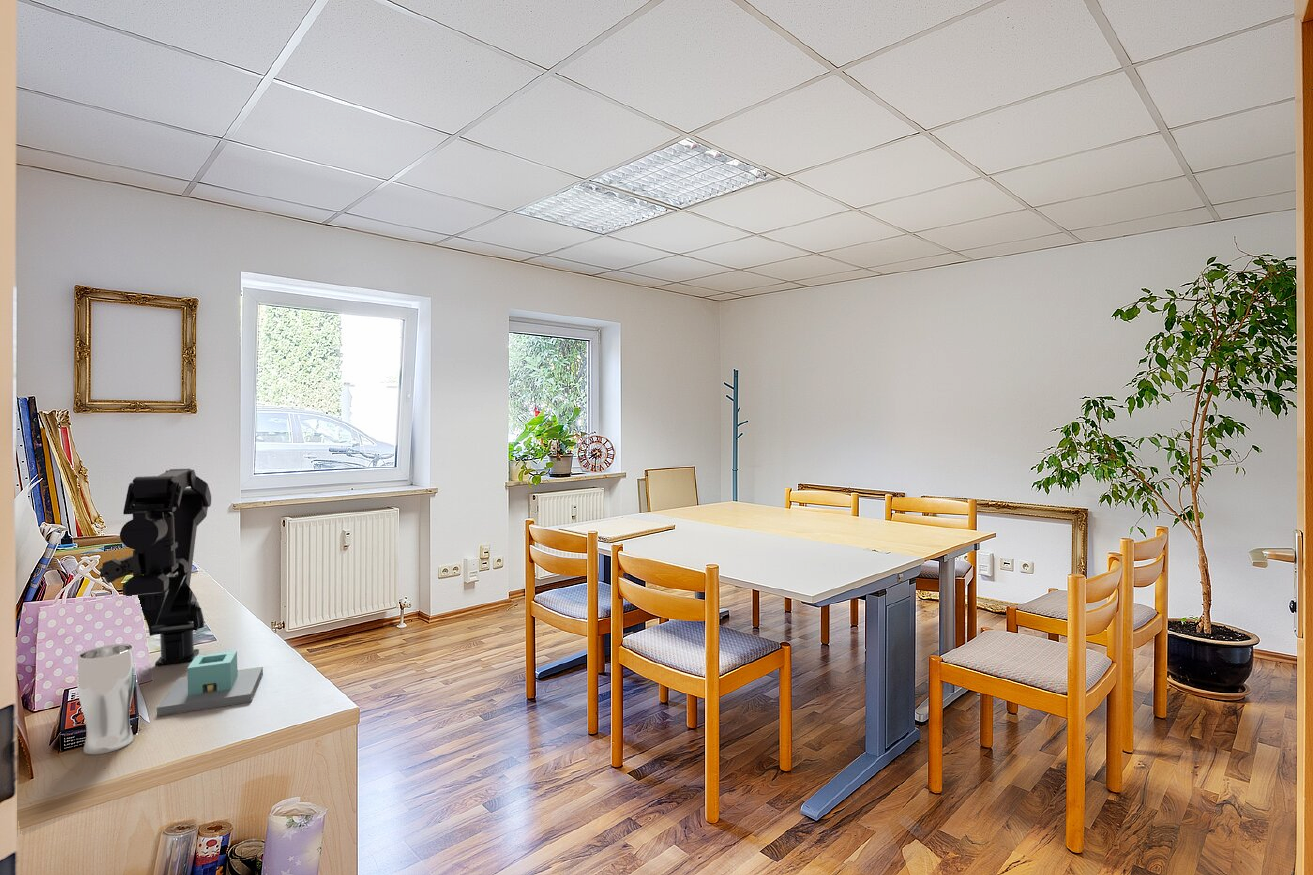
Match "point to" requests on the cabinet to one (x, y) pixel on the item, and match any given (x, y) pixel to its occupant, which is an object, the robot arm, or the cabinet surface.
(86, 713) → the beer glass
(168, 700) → the base
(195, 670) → the collar
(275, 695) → the cabinet surface
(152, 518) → the robot arm
